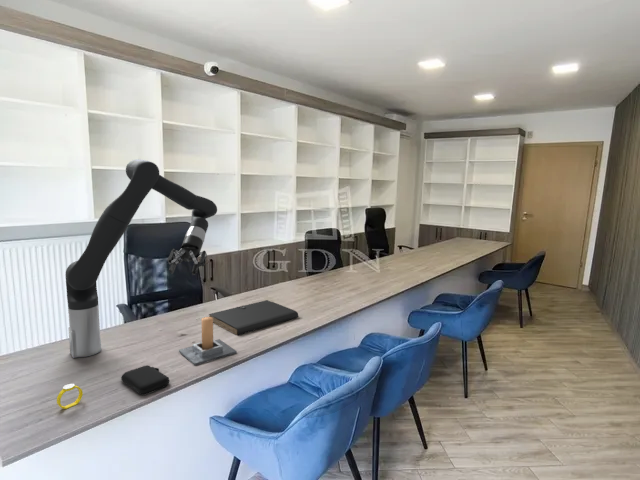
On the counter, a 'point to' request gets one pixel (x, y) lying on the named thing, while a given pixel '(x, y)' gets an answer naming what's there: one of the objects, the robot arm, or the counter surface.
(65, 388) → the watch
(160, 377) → the carrying case or bag
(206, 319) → the post
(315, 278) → the counter surface
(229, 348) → the mounting plate
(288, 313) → the black book
